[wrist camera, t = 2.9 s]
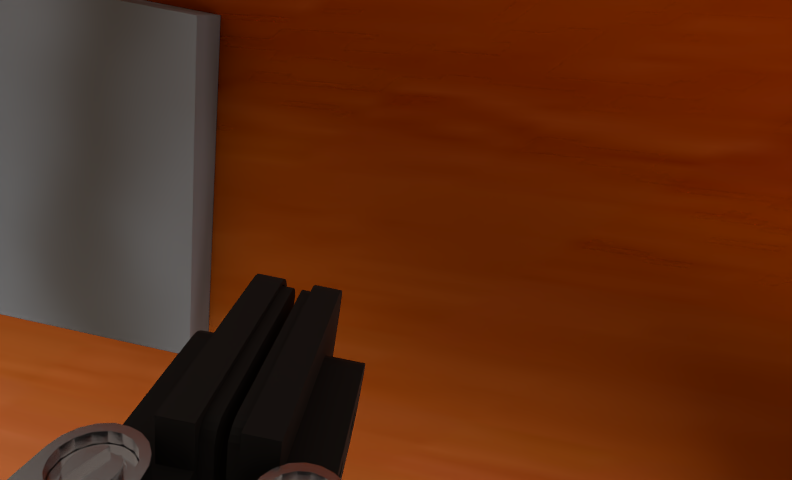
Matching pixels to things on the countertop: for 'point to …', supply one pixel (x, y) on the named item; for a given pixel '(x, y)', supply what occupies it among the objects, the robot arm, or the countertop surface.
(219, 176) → the countertop surface
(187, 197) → the board
